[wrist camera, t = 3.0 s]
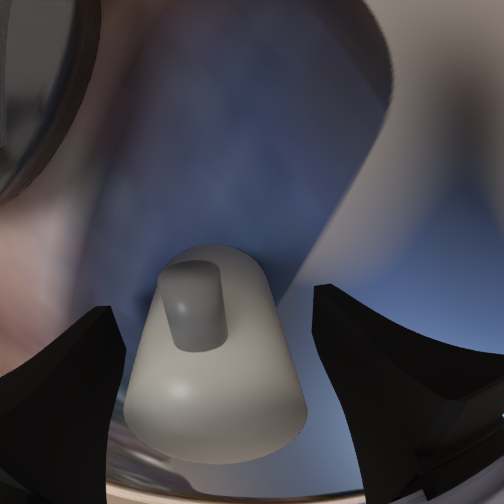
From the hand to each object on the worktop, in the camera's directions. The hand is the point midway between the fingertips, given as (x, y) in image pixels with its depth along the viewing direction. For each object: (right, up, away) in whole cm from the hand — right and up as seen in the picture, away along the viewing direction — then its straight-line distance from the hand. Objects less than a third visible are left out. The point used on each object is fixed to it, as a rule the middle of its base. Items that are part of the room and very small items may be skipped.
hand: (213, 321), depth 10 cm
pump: (0, +1, +1) cm, 2 cm away
